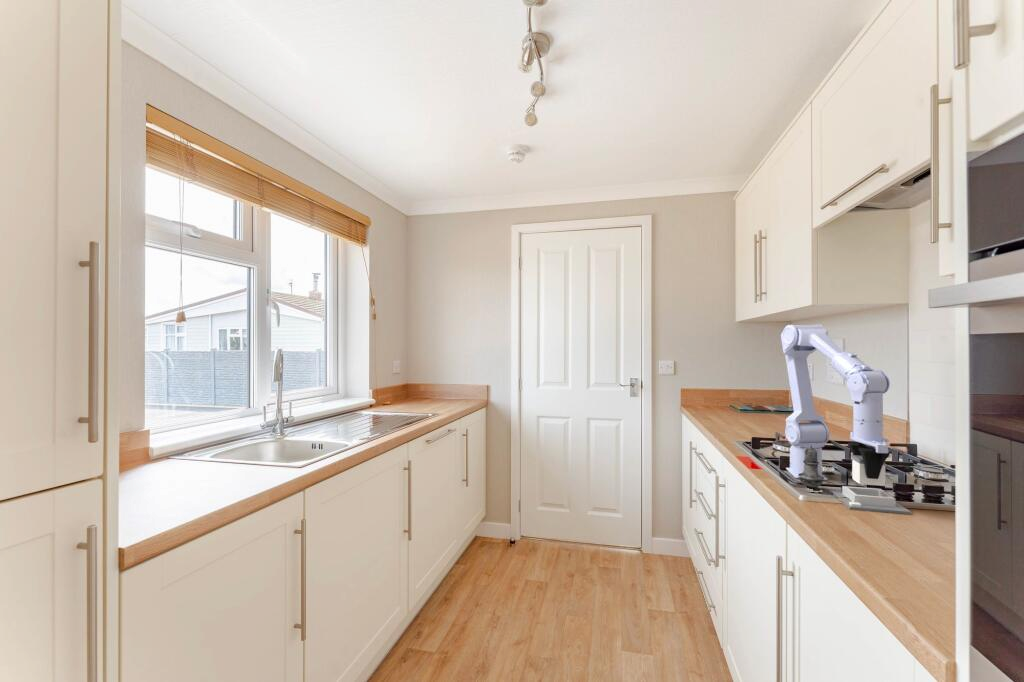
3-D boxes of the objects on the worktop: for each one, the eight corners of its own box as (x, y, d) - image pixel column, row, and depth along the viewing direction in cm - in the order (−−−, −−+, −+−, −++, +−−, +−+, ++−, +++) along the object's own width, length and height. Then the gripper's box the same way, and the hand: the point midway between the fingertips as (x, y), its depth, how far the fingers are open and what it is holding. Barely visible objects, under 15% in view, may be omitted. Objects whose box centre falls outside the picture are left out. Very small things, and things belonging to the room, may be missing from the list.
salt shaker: (829, 493, 117) (829, 447, 117) (806, 493, 117) (806, 447, 117) (815, 486, 123) (814, 442, 123) (793, 486, 123) (792, 442, 123)
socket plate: (829, 492, 118) (829, 482, 118) (884, 496, 115) (884, 486, 115) (849, 509, 107) (849, 498, 107) (911, 514, 103) (911, 503, 103)
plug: (852, 479, 113) (852, 455, 113) (877, 480, 112) (876, 456, 112) (859, 484, 109) (859, 459, 109) (885, 485, 108) (885, 460, 108)
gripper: (903, 426, 102) (903, 486, 102) (872, 415, 116) (872, 468, 116) (867, 425, 104) (867, 483, 104) (840, 414, 118) (841, 466, 118)
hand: (867, 475), depth 111 cm, fingers closed on plug, 4 cm apart
